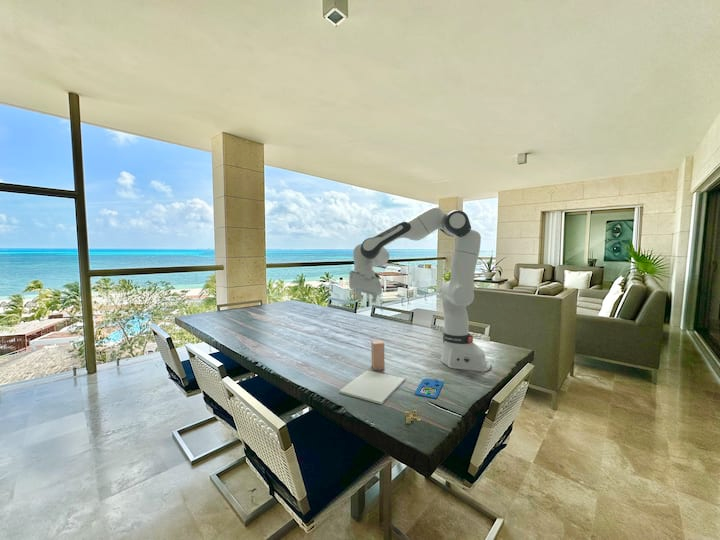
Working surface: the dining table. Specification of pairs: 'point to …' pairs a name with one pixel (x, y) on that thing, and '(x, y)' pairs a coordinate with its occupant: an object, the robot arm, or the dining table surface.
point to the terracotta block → (377, 354)
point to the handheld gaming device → (429, 388)
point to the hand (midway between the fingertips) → (367, 300)
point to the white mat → (372, 386)
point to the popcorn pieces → (411, 417)
